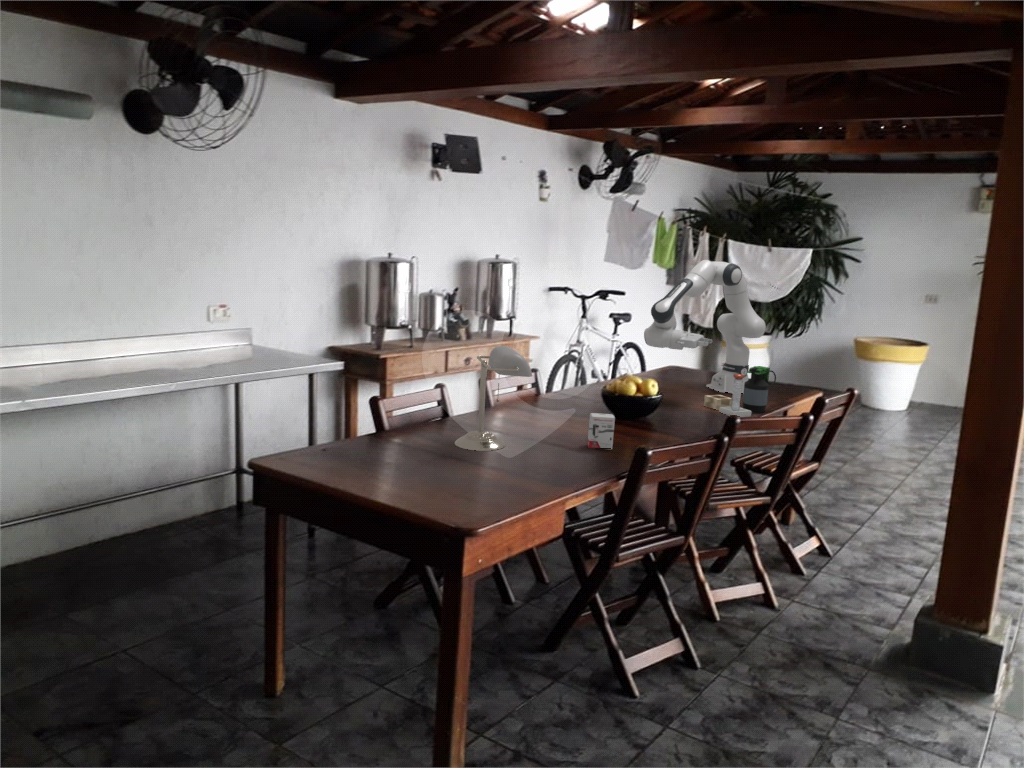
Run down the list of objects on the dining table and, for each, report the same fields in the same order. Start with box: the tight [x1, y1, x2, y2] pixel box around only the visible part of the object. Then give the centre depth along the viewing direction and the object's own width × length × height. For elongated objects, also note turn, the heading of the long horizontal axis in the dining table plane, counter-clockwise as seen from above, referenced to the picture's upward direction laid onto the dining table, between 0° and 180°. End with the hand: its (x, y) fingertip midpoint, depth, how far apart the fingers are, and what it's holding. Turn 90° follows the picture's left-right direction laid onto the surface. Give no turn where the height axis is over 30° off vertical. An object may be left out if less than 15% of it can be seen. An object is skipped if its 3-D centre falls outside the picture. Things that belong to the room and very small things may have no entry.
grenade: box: [741, 365, 777, 414], centre depth 361 cm, size 11×13×20 cm
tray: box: [718, 406, 752, 418], centre depth 351 cm, size 10×10×2 cm
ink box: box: [587, 412, 616, 450], centre depth 284 cm, size 9×5×12 cm, turn 90°
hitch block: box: [703, 394, 732, 411], centre depth 363 cm, size 9×9×5 cm
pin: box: [731, 374, 744, 412], centre depth 349 cm, size 5×5×17 cm
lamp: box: [454, 345, 533, 452], centre depth 278 cm, size 26×24×34 cm
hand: (710, 342), depth 357 cm, fingers open, 8 cm apart
